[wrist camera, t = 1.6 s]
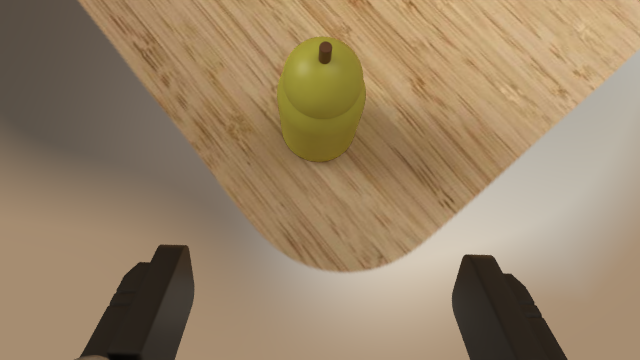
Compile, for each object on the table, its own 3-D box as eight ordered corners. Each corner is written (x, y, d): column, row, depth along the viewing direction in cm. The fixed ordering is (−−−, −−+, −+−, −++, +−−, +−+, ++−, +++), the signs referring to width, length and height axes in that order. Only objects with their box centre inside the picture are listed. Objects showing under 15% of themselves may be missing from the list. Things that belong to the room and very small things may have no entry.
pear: (267, 136, 28) (247, 60, 19) (307, 80, 30) (309, -20, 20) (330, 176, 28) (343, 118, 18) (368, 116, 29) (401, 33, 19)
